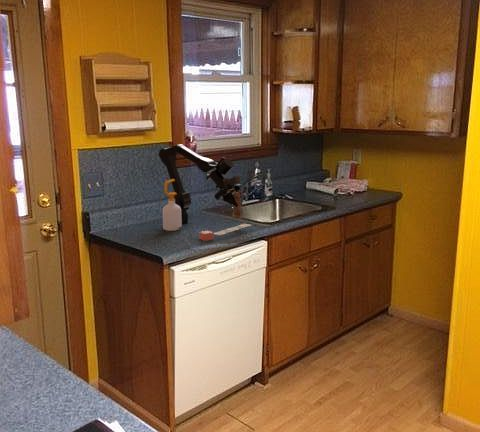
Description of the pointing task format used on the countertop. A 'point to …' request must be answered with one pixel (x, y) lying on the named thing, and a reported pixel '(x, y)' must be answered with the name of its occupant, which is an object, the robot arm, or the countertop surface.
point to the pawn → (237, 209)
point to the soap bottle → (171, 212)
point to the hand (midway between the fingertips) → (239, 205)
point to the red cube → (206, 235)
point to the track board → (231, 229)
